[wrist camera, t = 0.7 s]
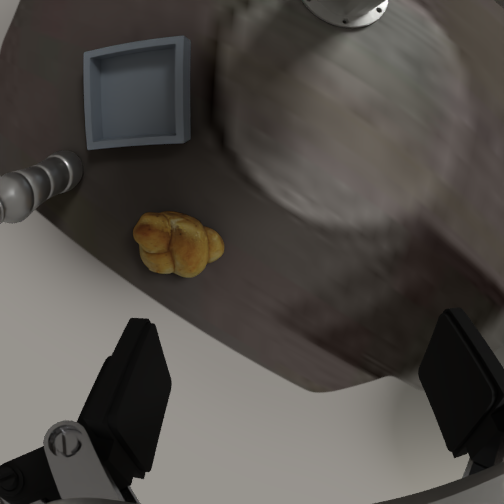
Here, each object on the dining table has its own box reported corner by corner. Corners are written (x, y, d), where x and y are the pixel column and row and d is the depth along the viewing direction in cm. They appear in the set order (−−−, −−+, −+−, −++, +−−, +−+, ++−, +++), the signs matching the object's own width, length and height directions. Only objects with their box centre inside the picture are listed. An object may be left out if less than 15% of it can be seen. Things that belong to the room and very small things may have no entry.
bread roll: (233, 223, 47) (227, 247, 40) (214, 276, 51) (207, 306, 44) (150, 196, 45) (130, 216, 38) (139, 251, 49) (121, 277, 42)
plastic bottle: (91, 184, 44) (10, 240, 26) (58, 188, 44) (-23, 242, 27) (84, 144, 41) (-5, 182, 23) (51, 151, 41) (-37, 191, 24)
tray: (97, 54, 35) (83, 52, 31) (190, 40, 34) (183, 35, 31) (100, 144, 41) (87, 150, 38) (190, 139, 41) (183, 143, 37)
